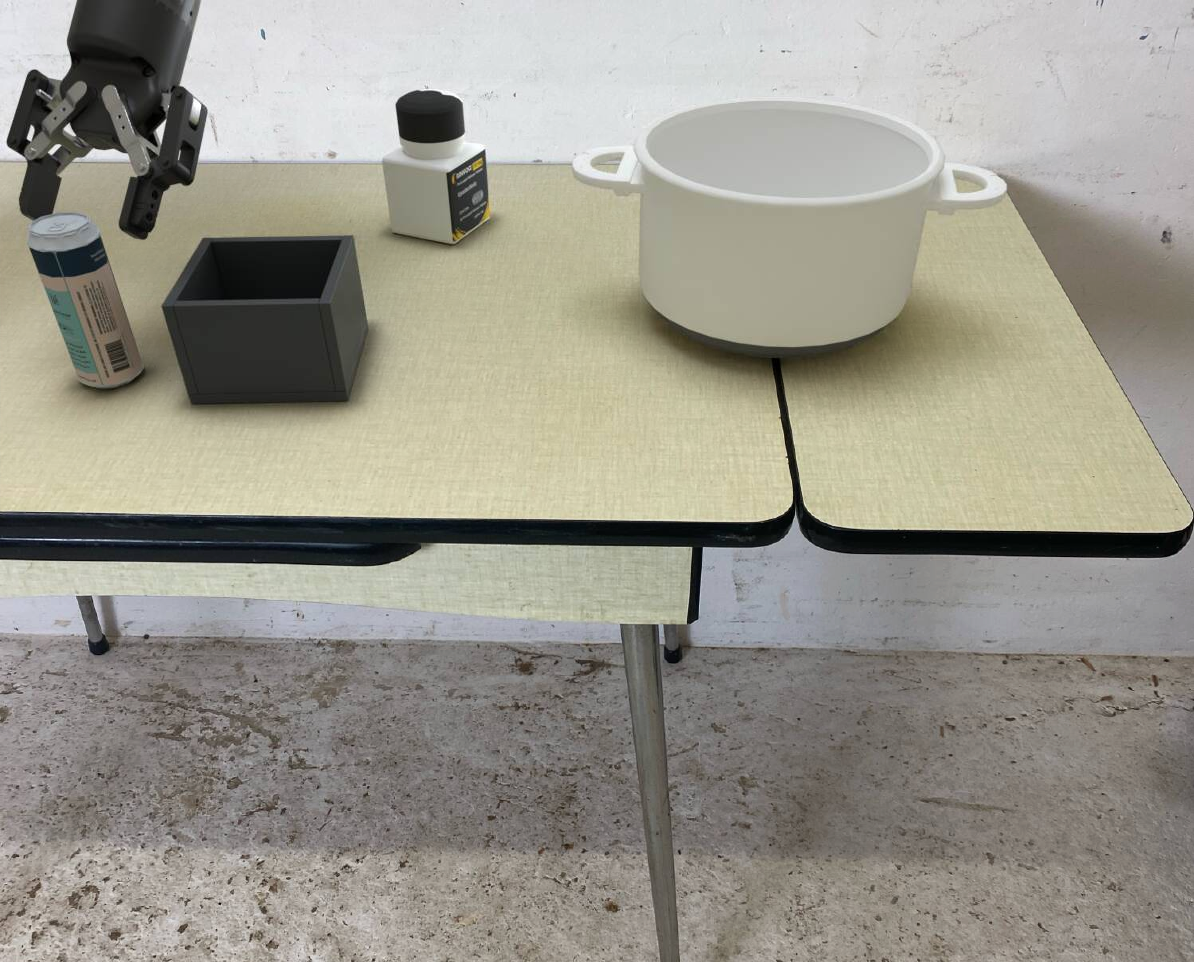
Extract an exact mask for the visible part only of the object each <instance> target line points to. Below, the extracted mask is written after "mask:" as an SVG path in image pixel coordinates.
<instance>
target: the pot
mask: <svg viewBox="0 0 1194 962" xmlns="http://www.w3.org/2000/svg"><path fill="white" fill-rule="evenodd" d="M619 161H620V163H619V166H618V168H617V171H616V172H615V173H614V172H613V173H612V172H605V171H601V170H598V169H596V168H594V167H596V166H598V165H600V164H603V163H609V162H619ZM571 172H572V174H573V178H574V179H575V180H577V181H578V182H580V183H581V184H584V185H586V186H589V187H593V188H597V189H602V190H603V189H604V190H612V191H613V192H614V194H615V195H616V196H617V197H630V195H631V194H640V197H639V204H640V205H639V206H640V207H639V233H638V234H639V235H638V236H639V238H638V244H639V245H638V278H639V279H638V280H639V283H640V284H639V285H640V288H641V291H642V294H643V297H644V298H645V299H646V301H647V302H648V304H649V305H650V308H651V309H652V310H653V311H654V312H655V314H656V315H657V316H658V318H660V319H661V320H662V321H663V322H665V323H666V324H667V325H669V326H670V327H671V328H673V329H674V330H675V331H676V332H678V333H679V334H681V335H682V336H684V337H686V338H688V339H690V340H693V341H694V342H696V343H698V344H701V345H703V346H707V347H710V348H713V349H715V350H718V351H722V352H727V353H731V354H736V355H740V356H747V357H757V358H765V359H800V358H813V357H818V356H825V355H829V354H830V355H831V354H834V353H837V352H841V351H844V350H847V349H851V348H853V347H855V346H857V345H859V344H861V343H864V342H865V341H867V340H868V339H870V338H873V337H875V336H876V335H878V334H879V333H881V332H882V331H883V330H884V329H886V328H887V327H888V326H889V325H890V324H891V323H892V322H893V321H894V320H895V318H897V317H898V316H899V315H900V313H901V312H902V310H903V308H904V307H905V305H906V304H907V300H908V298H909V296H910V294H911V290H912V285H913V280H914V275H915V270H916V266H917V261H918V257H919V256H918V255H919V252H920V246H921V241H922V237H923V231H924V227H925V221H926V218H927V213H928V212H927V211H932V212H933V211H935V212H937V215H939V216H953V215H954V214H955V213H956V212H957V211H972V210H973V211H974V210H982V209H987V208H992V207H995V206H997V205H998V204H1000V203H1002V202H1003V200H1004V199H1005V197H1006V195H1007V191H1008V184H1007V183H1006V181H1005V180H1004V179H1003V178H1002V177H1000V176H999V175H998V173H995V172H993V171H991V170H989V169H987V168H983V167H979V166H976V165H970V164H964V163H956V162H955V163H954V162H946V154H945V152H944V150H943V147H942V145H941V144H940V142H939V141H938V140H937V139H936V138H935V137H934V136H933V135H932V134H930V133H929V132H928V131H926V130H924V129H923V128H921V127H919V126H917V125H916V124H915V123H913V122H910V121H908V120H906V119H903V118H901V117H898V116H897V115H894V114H892V113H889V112H885V111H881V110H878V109H874V108H871V107H866V106H863V105H858V104H852V103H848V102H843V101H842V102H841V101H835V100H828V99H821V98H810V97H809V98H808V97H795V96H751V97H735V98H726V99H718V100H712V101H707V102H706V101H705V102H701V103H696V104H692V105H689V106H686V107H685V106H684V107H681V108H679V109H674V110H672V111H670V112H667V113H665V114H663V115H661V116H659V117H655V119H653V120H651V121H650V122H649V123H647V124H646V125H645V126H643V128H642V129H641V130H640V132H639V133H638V134H637V135H636V137H635V139H634V143H633V145H611V146H609V145H608V146H602V147H601V146H600V147H596V148H591V149H588V150H585V151H583V152H582V153H581V154H580V155H577V156H576V157H575V158H574V159H573V161H572V165H571ZM955 180H960V181H964V182H969V183H972V184H975V185H977V186H979V187H981V188H982V189H981V190H978V191H973V192H958V189H957V185H956V181H955Z"/></svg>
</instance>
